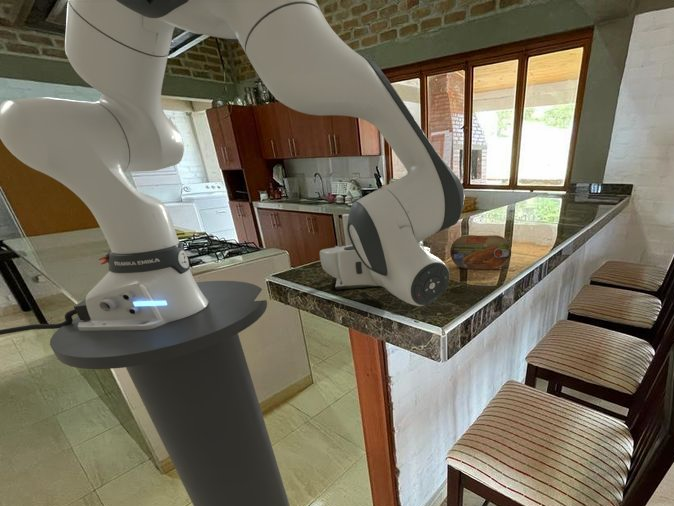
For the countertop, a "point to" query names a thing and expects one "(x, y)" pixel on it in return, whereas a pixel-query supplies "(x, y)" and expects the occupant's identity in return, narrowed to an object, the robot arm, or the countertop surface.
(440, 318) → the countertop surface
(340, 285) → the tablet
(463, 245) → the tin
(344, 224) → the light grey bar
